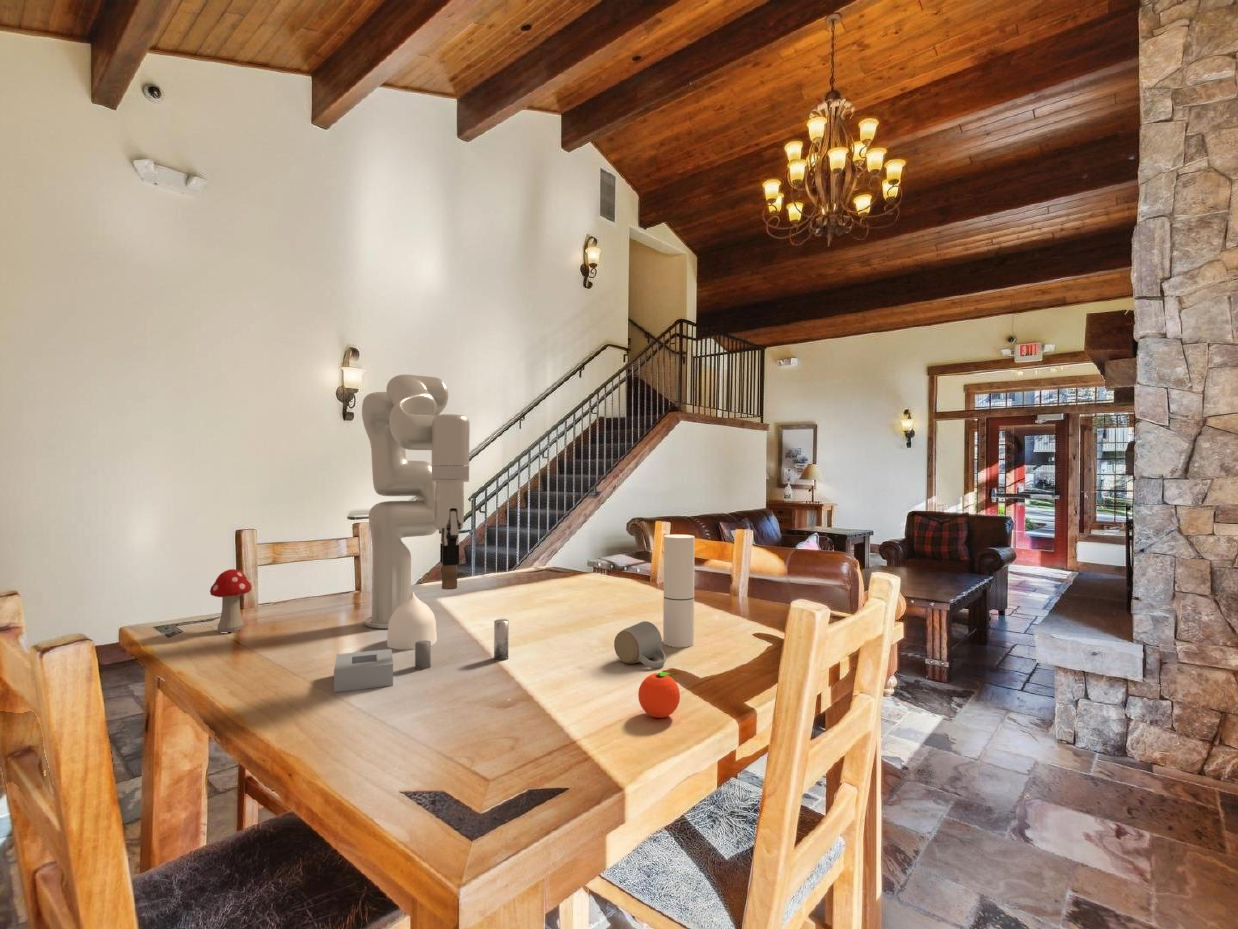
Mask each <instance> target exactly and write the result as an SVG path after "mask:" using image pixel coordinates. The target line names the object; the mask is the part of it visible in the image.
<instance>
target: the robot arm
mask: <svg viewBox="0 0 1238 929" xmlns="http://www.w3.org/2000/svg"><path fill="white" fill-rule="evenodd" d="M385 389H386V390H385V391H376V392H375V391H374V392H372V393H369V394H367V395H366V396H365V397H364V398H363V400H362V405H361V418H362V422H363V427H364V429H365V433H366V434H367V436H368V439H369V444H370V449H371V451H370V452H371V453H370V454H371V469H372V484H373V489H374V491H375V493H376V494H377V495H378V496H383V497H415V498H416V500H388V501H381V502H378V503H376V504H374V505H373V506H372V507H371V508H370V509H369V512H368V525H369V530H370V531H369V532H370V538H371V562H372V563H371V567H372V568H371V575H372V576H371V616H369V617H366V619H365V621H364V624H365V626H366V627H368V628H373V629H388V623H389V620H390V618H391V616H392V614H393V613H394V611H395V610H396V609H397V608H398V607H399V606H401V605H402V604H403V603H404V602H405V601H406V600H407V599H408V598H409V597H410V595H411V593H412V554H411V551H410V549H409V548H408V546H406V544H405V543H404V542H403V541H402V539H403V538H410V537H412V538H413V537H414V538H415V537H425V536H426V537H427V536H431V535H434V534H435V533H436V532H437V531H440V532H441V533H440V547H439V548H440V551H439V552H440V553H439V555H440V556H439V562H440V563H441V564H442V535H443V528H444V546H443V565H444V566H447V565H457V566H458V565H459V564H460V545H459V543H460V542H459V541H460V539H459V538H460V537H459V536H460V535H459V534H460V531H461V530H462V529H463V528H464V520H465V517H464V514H465V494H464V493H465V491H464V490H465V489H464V483H468V482H470V433H471V432H470V431H471V430H470V429H471V428H470V420H469V418H468V417H467V416H465V415H463V414H462V415H461V414H451V413H450V414H446V413H445V414H444V413H443V414H442V412H443V411H444V410H445V409H446V406H447V405H448V401H449V390H448V387H447V385H446V383H445V382H444V381H443V380H442V379H441V378H439V377H436V376H425V375H416V374H415V375H414V374H399V375H395V376H394V377H392V378H391V379H390V380H389V381H388V382H387V384H386V387H385ZM406 450H408V451H409V450H410V451H431V463H429V462H427V461H425V460H408V459H407V456H406V453H407V452H406ZM447 528H450V530H447Z"/></svg>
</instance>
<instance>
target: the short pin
mask: <svg viewBox="0 0 1238 929" xmlns="http://www.w3.org/2000/svg"><path fill="white" fill-rule="evenodd" d="M431 646H432V645H431V642H430V641H427V640H424V641H418V642H416V643H415V649H414V654H415V656H414V668H415V669H416V670H428V669H429V668H431V663H432V662H431V660H432V659H431V654H432V653H431V652H432V649H431V648H432V647H431Z"/></svg>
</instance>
